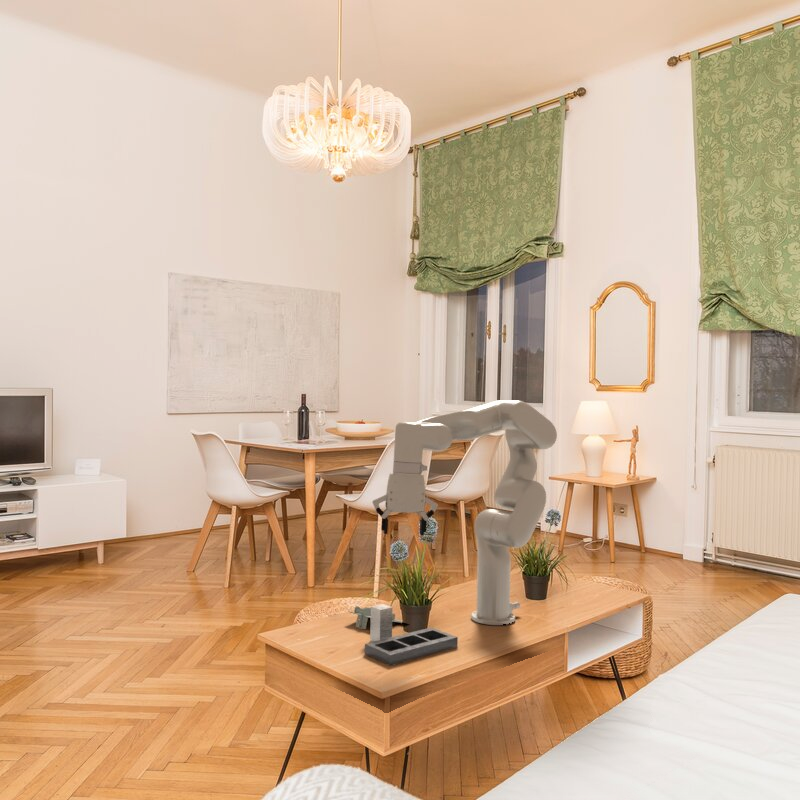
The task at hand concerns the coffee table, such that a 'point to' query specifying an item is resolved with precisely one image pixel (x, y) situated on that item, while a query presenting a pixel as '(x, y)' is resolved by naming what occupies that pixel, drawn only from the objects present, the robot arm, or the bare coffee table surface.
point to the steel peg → (381, 622)
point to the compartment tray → (404, 648)
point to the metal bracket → (366, 616)
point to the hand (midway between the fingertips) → (403, 534)
